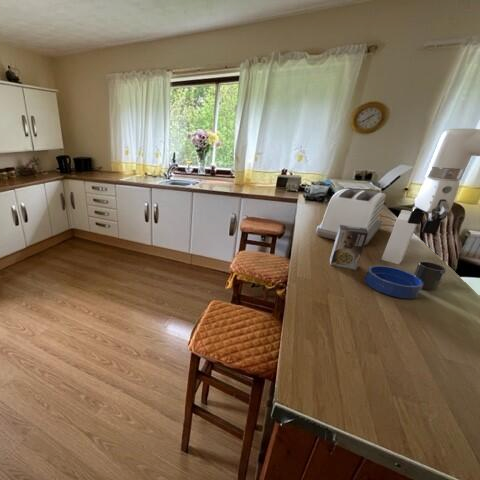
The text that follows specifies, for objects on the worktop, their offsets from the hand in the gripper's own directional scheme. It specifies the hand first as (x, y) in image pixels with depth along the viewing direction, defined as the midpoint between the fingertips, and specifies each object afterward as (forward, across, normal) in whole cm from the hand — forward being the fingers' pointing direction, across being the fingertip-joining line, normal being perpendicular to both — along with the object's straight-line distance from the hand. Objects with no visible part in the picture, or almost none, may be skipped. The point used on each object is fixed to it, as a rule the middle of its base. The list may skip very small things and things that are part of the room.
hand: (420, 228), depth 82 cm
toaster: (+23, +61, +1) cm, 65 cm away
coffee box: (+23, +13, +14) cm, 29 cm away
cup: (+23, +6, -10) cm, 25 cm away
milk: (+23, +26, -7) cm, 35 cm away
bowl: (+23, -1, +2) cm, 23 cm away
